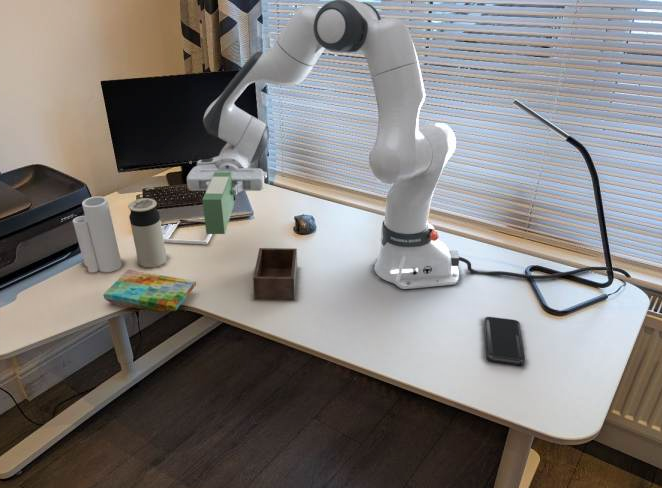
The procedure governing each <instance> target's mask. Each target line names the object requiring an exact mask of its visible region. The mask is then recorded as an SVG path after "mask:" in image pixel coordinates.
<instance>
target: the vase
mask: <svg viewBox="0 0 662 488" xmlns="http://www.w3.org/2000/svg"><path fill="white" fill-rule="evenodd" d="M81 205H82V210H83V213H84V215H80V216H76V217H74V218H73V219H72V224H73V227H74V231H75V234H76V235H75V236H76V239H77V242H78V246H79V250H80V253H81V257H82V261H83V264H84V266H85V267H87V271H88V272H89V273H93V274H94V273H98V272H101V273H112V272H116V271H117V270H119V269H120V268H121V267H122V265H123V264H122V259H121V254H120V250H119V246H118V241H117V236H116V232H115V228H114V223H113V219H112V215H111V209H110V205H109V201H108V198H107V197H105V196H102V195H101V196H100V195H98V196H97V195H96V196H91V197H88V198H86V199H83V200H82V202H81Z"/></svg>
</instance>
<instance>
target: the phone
mask: <svg viewBox="0 0 662 488" xmlns="http://www.w3.org/2000/svg"><path fill="white" fill-rule="evenodd" d="M483 321H484V322H483V325H484V328H483V329H484V341H485V342H484V343H485V358H486V360H487V361H489V362H494V363H500V364H508V365H513V366H523V365H524V363H525V361H526V358H525V356H526V355H525V350H524V343H523V337H522V336H523V335H522V329H521V323H520V322H519V320H516V319H510V318H503V317H495V316H486V317H484V320H483Z"/></svg>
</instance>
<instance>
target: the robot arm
mask: <svg viewBox="0 0 662 488" xmlns="http://www.w3.org/2000/svg"><path fill="white" fill-rule="evenodd" d="M287 21H288V22H287V23H286V24H285V26H284V27H283V29H282V31H281V32H280V34H279V35H278V37H277V39H276V41H275V42H274V43H273V45H272V46H271V47H270V48H268V49H266V50H265V51H256V52H255V53H253V54H252V55H251V56H250V57H249V58H248V59H247V61H246V62H245V63H244V65H243V66H241V68H240V69H239V70H238V72H237V73H235V76H234V77H233V78H232V79H231V80H230V82H229V83H228V84H227V85H226V87H225V88H224V89H223V91H222V92H221V93H220V95H219V96H217V98H216V99H215V100H213V102H211V103H210V105H209V106H208V107H207V108H206V110H205V112H204V115H203V119H202V122H203V126H204V128H205V130H206V132H207V134H209V135H211V136H213V137H215V138H217V139H220V140H222V141H224V142H225V143H226V144H225V145H224V146H223V147H222V149H221V150H220V152H219V154H218V155H216V156H214V157H210V158H205V159H199V160H197V161H196V166H193V167H192V168H191V170H190V171H189V173H188V174H187V176H186V184H187V190H189V191H190V192H191V191H192V192H193V191H194V192H206V190H207V188H208V186H209V183H210V181H211V179H212V176H213V174H214V172H231V174H232V186H231V195H233V196H237V195H238V193H241V192H259V191H260V192H261V191H263V190H264V189H265V179H267V177H268V173H267V171H264V170H263V169H262V168H259V167H250V165H251V164H254V163H255V162H257V161H258V160H260V159H261V157H262V156H263V154H264V152H265V150H266V148H267V146H268V141H269V139H270V129H269V126H268V124H266V123H265V122H264V121H262V120H260V119H258V118H257V117H255V116H254V115H251V114H249V113H248V112H246V111H245V110H243V109H241V108H240V107H238V106H237V105H236V104H235V102H236V101H237V100H238V98H239V97H240V96H241V95H242V93H244V91H245V90H246V89H247V87H248V86H250V85H251V84H254V83H266V84H272V85H276V86H279V87H281V86H282V87H291V86H296V85H299V84H300V83H302V82H304V81H305V80H306V79H307V77H308V76H309V74H310V73H311V71H312V70H313V69H314V67H315V65H316V63H317V62H318V60H319V59H320V57H321V55H322V54H323V52H324V51H325V50H327V51H330V52H332V53H345V54H346V53H347V54H348V53H349V54H350V53H357V52H360V53H361V54H362V55H363V56H364V57H365V59H366V62H367V66H368V69H369V74H370V77H371V83H372V86H373V91H374V96H375V101H376V105H377V106H376V107H377V114H378V122H377V131H376V137H375V138H376V139H375V141H374V144H373V147H372V149H370V152H369V156H368V165H369V169H370V172H371V174H372V176H373V177H374V178H375V180H377V181H378V182H379V183H382V184H385V185H391V184H392V186H391V187H390V188H389V190H388V192H387V194H386V198H385V207H384V220H383V221H382V225H381V229H380V243H381V244H380V249H379V253H378V255H377V259H376V262H375V264H374V268H373V270H374V273H375V274H376V275H377V276H378V277H379V278H380V279H382V280H384V281H385V282H388V283H391V284H393V285H395V286H396V287H398V288H399V289H402V290H410V289H421V288H423V289H424V288H431V287H432V288H433V287H443V286H452V285H456V284H457V283H458V282H459V279H460V271H459V270H460V269H459V263H460V262H463V263H465V264H466V265H467V270H468V271H469V272H470V273H471V274H475V275H487V276H508V277H515V278H520V279H528V280H546V279H554V278H559V277H565V276H571V275H572V276H573V275H576V274H580V273H583V272H588V271H608V270H607V268H606V267H607V266H586V267H581V268H578V269H574V270H568V271H562V272H557V273H552V274H539V275H537V274H535V275H534V274H524V273H518V272H510V271H503V270H495V271H494V270H493V271H480V270H475V269H474V268H472V263H471V261H469V259H466V258H465V257H461V256H460V255H459V250H450V249H449V247H448V246H447V245H446V244H445V243H444V242H443V241H441V240H440V239H439V234H438V232H437V231H436V230H435V227H434V225H433V224H432V221H430V220H429V217H430V216H429V215H430V210H431V203H432V199H433V196H434V192H435V189H436V187H437V185H438V182H439V179H440V177H441V175H442V172H443V170H444V168H445V166H446V165H447V162H448V161H449V159H450V158H451V157H452V156H453V155H454V152H455V150H456V147H457V146H456V145H457V139H456V136H455V132H454V131H453V130H452V128H451V127H450V126H449V125H448V124H445V123H442V122H427V123H422V124H420V125H419V116H420V111H421V108H422V106H423V104H424V102H425V99H426V92H425V85H424V81H423V77H422V76H423V75H422V72H421V67H420V63H419V59H418V58H419V57H418V54H417V51H416V47H415V44H414V41H413V38H412V36H411V33H410V31H409V28H408V26H407V24H406V23H405V21H404V20H403V19H402V18H398V17H392V16H391V17H385V18H381V14H380V13H379V11H378V10H377V9H376V8H375V7H374V6H373V5H371V4H370V3H368V2H364V1H363V2H362V1H360V0H359V1H358V0H331V1H329V2H327V3H325V4H324V5H322V6H321V7H317V5H316V6H315V5H312V4H305V5H301V6H300V7H299V8H298V9H297V10H296V11H295V12H294V14H293V15H292V16H291V17H290V19H289V20H287ZM611 267H612V269H613V271H612V272H617V273H620V274H621V275H624V276H625V277H626V278H629V279H631V278H632V276H631V275H630V273H629V272H627V271H626V270H625V269H623V268H620V267H615V266H611Z"/></svg>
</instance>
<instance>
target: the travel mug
mask: <svg viewBox="0 0 662 488" xmlns="http://www.w3.org/2000/svg"><path fill="white" fill-rule="evenodd" d="M127 208H128V209H129V211H130V213H129V217H128V218H129V223H130V228H131V232H132V237H133V243H134V248H135V252H136V256H137V261H138V264H139V265H140V266H141V267H143V268H155V267H159V266H162V265H164V264H165V263H166V261H168V257H167V252H166V245H165V242H164V239H163V233H162V227H161V222H162V220H161V216H160V212H159V211H158V209H157V201H156V200H155V199H153V198H149V197H147V198H146V197H144V198H137V199H134V200H132V201H131V202H129V203H128V205H127Z"/></svg>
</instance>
